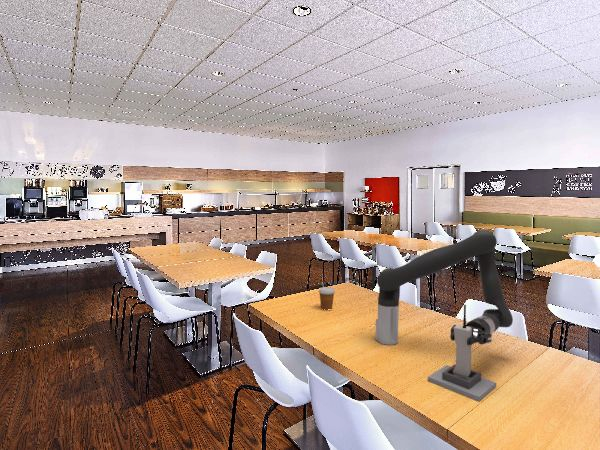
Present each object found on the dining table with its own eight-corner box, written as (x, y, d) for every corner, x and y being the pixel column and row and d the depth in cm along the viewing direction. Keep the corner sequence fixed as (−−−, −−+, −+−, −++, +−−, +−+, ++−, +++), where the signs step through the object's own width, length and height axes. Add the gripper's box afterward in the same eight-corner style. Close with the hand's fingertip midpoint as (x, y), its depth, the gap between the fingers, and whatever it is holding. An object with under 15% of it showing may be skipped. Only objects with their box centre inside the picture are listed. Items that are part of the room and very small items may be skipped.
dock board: (427, 380, 133) (427, 370, 133) (446, 368, 143) (446, 358, 142) (479, 401, 120) (479, 389, 120) (496, 386, 129) (496, 375, 129)
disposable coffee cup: (317, 311, 214) (317, 290, 213) (319, 306, 223) (319, 286, 222) (334, 312, 212) (334, 291, 211) (335, 307, 221) (335, 287, 220)
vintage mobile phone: (456, 369, 134) (457, 301, 132) (470, 373, 131) (472, 304, 129) (452, 373, 131) (454, 304, 129) (467, 377, 128) (469, 306, 126)
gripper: (461, 313, 145) (440, 324, 133) (501, 323, 134) (481, 335, 123) (461, 332, 145) (439, 344, 134) (500, 343, 135) (480, 357, 123)
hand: (459, 340), depth 128 cm, fingers closed on vintage mobile phone, 5 cm apart
